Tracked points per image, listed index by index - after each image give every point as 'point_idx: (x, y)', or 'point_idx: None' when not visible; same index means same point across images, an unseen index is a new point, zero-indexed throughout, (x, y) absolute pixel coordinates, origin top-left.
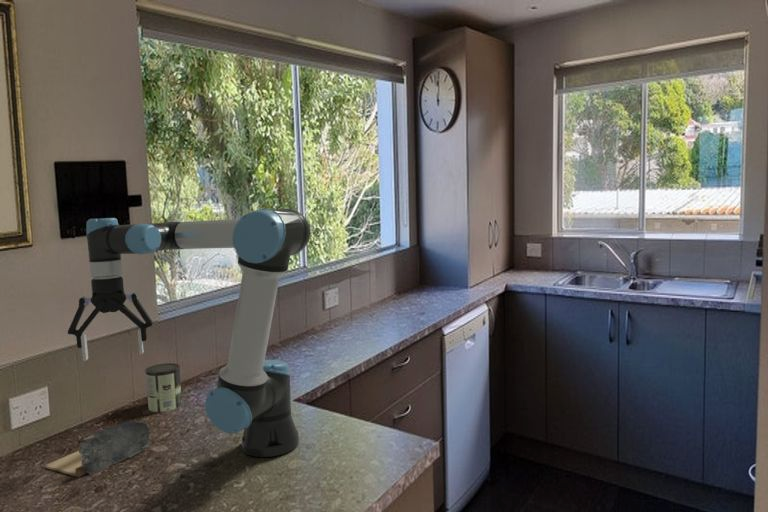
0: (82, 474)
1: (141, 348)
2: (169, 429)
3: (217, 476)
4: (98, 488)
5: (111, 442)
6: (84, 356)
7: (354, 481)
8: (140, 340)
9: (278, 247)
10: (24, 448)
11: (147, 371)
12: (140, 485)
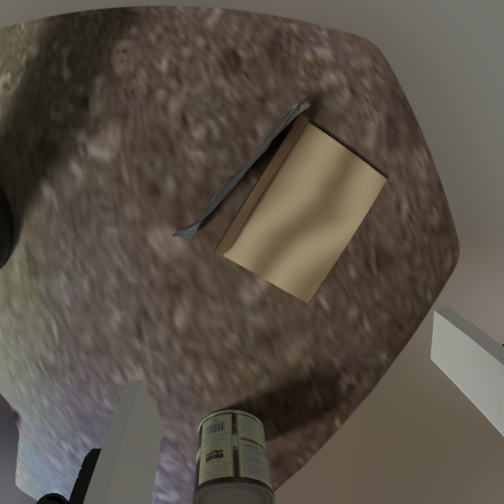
0: (293, 123)
1: (120, 404)
2: (183, 342)
3: (31, 102)
4: (235, 62)
5: (248, 165)
6: (453, 318)
7: None
8: (108, 443)
9: None
10: (445, 280)
11: (263, 488)
12: (154, 66)
